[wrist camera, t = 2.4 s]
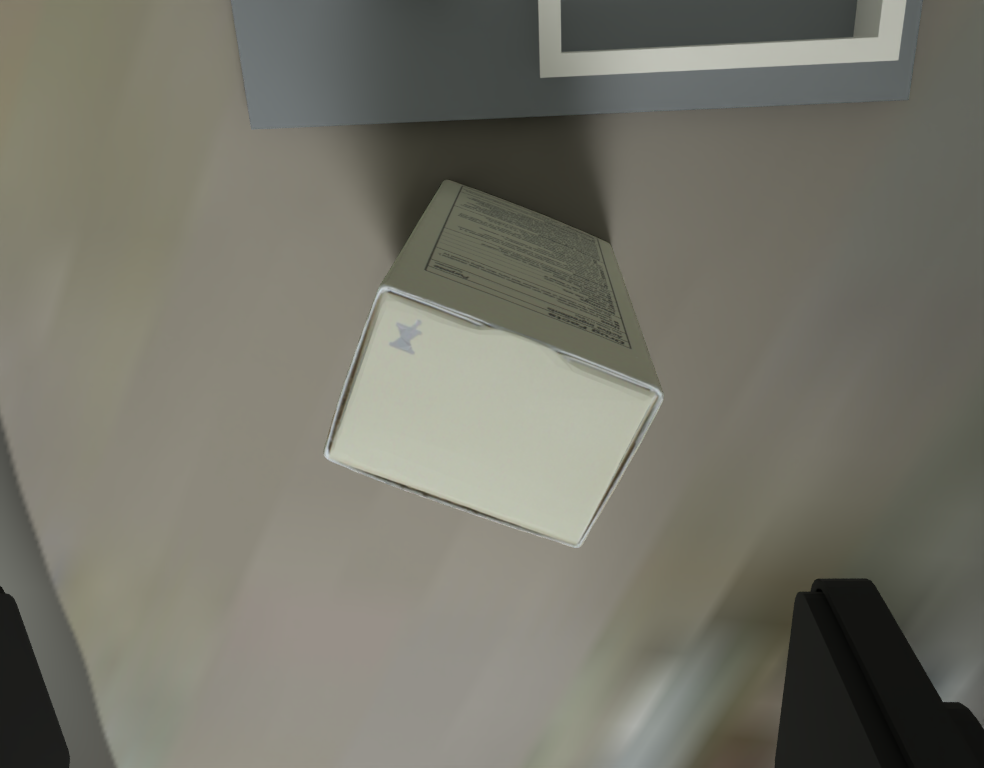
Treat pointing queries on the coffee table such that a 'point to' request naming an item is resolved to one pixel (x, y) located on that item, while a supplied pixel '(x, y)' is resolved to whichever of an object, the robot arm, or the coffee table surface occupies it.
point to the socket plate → (563, 57)
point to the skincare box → (499, 370)
